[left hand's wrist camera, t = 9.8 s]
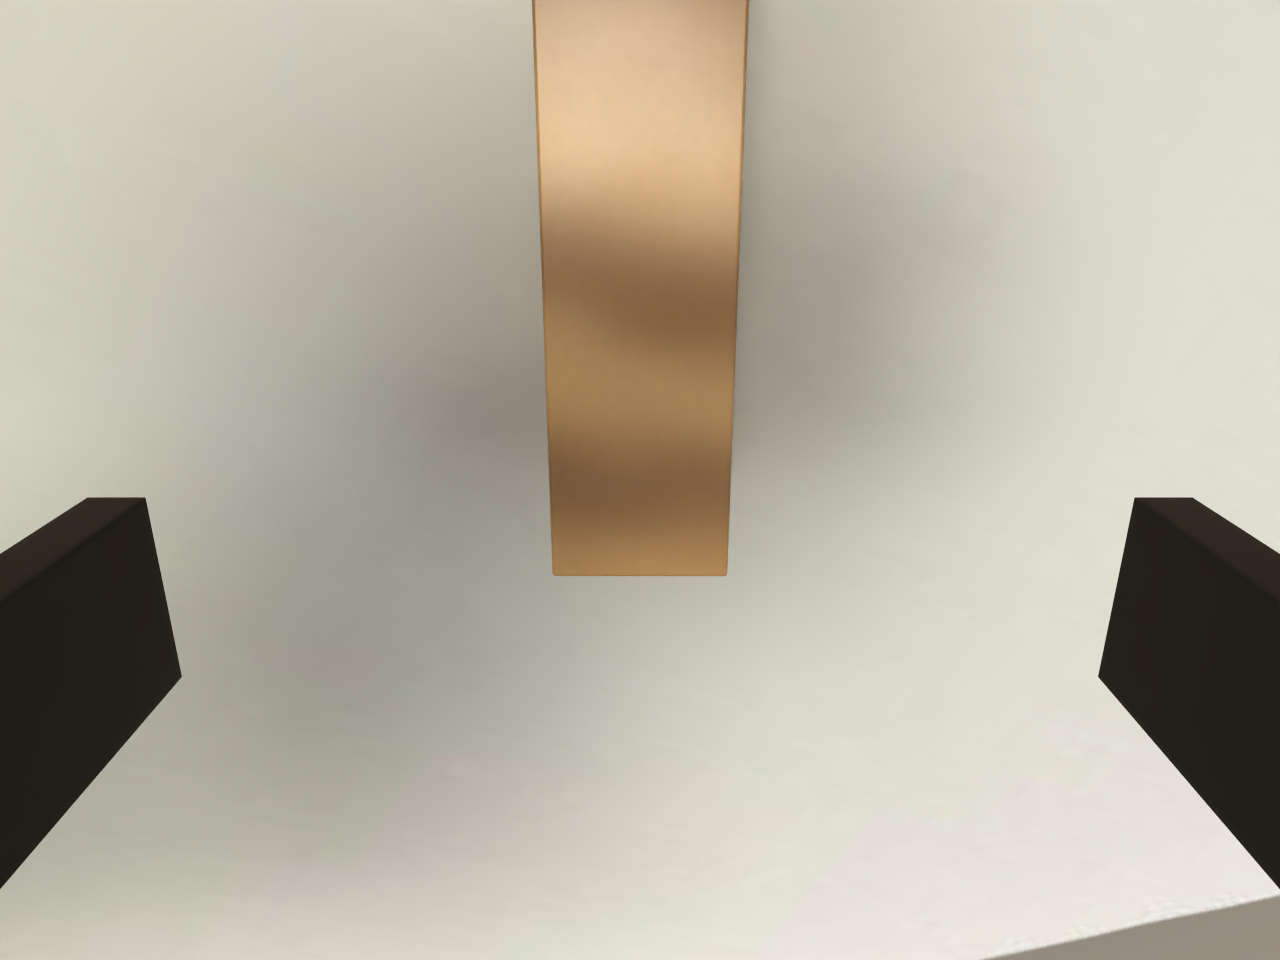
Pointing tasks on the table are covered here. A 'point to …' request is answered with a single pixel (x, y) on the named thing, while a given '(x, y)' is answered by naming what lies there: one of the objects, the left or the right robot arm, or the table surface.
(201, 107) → the table surface
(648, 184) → the beam
